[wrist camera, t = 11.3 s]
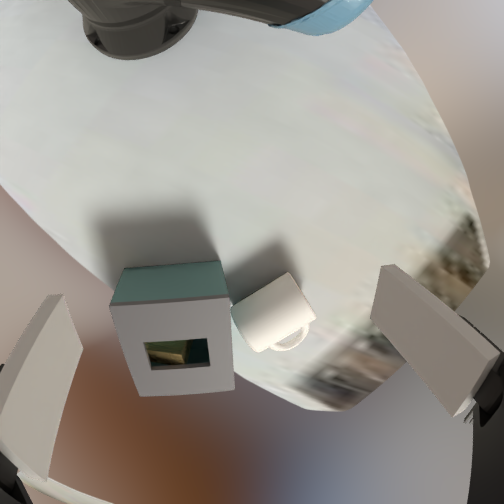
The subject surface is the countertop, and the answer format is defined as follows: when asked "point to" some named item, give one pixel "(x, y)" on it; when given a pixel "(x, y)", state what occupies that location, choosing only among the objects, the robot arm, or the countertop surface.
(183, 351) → the gold block
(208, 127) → the countertop surface
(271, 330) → the mug
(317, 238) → the countertop surface
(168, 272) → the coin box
